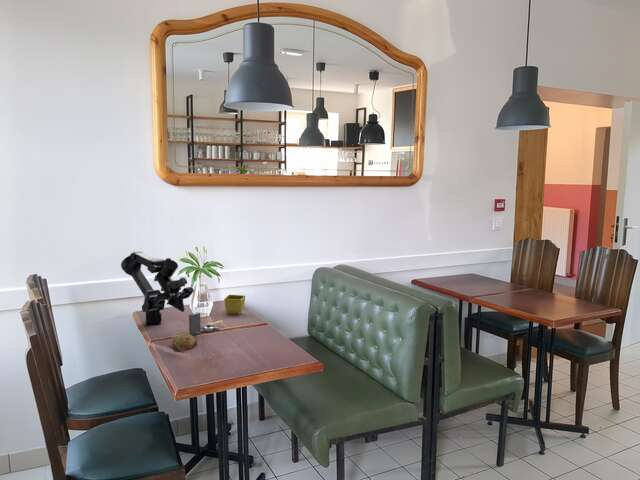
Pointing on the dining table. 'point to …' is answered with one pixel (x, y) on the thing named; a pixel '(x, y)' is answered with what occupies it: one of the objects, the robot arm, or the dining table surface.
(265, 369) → the dining table surface
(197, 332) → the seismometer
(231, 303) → the flower pot
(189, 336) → the mottled green brown ball
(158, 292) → the robot arm
